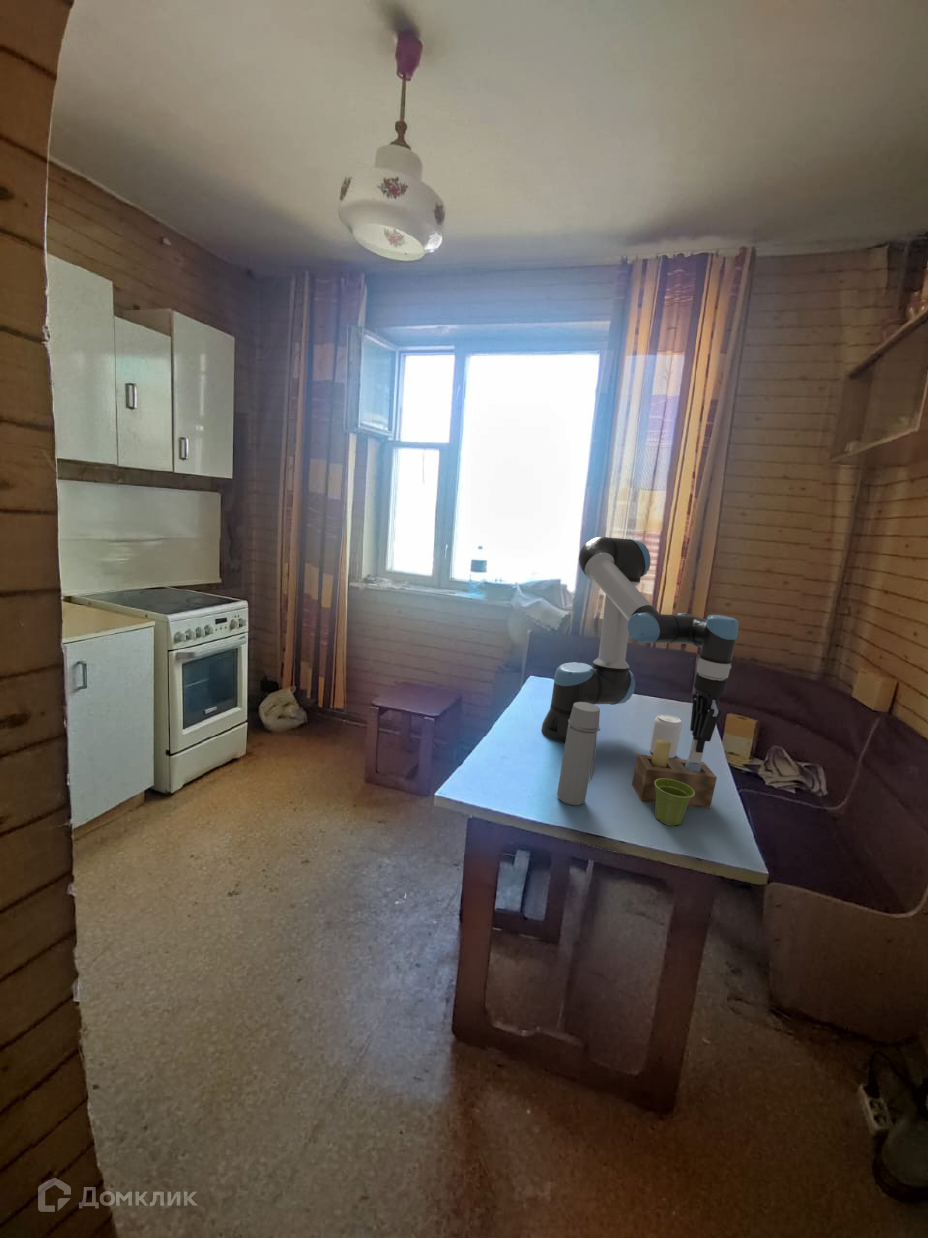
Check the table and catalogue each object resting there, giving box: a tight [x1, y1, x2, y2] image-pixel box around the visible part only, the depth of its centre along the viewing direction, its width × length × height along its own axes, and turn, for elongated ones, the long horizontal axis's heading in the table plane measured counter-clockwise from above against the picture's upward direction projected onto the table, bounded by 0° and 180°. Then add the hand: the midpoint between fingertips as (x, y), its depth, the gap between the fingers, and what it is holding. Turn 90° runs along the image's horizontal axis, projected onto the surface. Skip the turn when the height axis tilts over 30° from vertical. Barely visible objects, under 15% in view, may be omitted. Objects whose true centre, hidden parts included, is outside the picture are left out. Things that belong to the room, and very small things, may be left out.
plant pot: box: [654, 778, 695, 827], centre depth 141 cm, size 9×9×9 cm
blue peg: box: [685, 758, 702, 772], centre depth 152 cm, size 4×4×8 cm
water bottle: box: [556, 702, 601, 806], centre depth 144 cm, size 9×8×25 cm
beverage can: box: [648, 713, 683, 758], centre depth 180 cm, size 8×8×12 cm
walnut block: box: [631, 754, 717, 810], centre depth 152 cm, size 18×9×9 cm, turn 89°
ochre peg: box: [651, 739, 671, 768], centre depth 151 cm, size 4×4×8 cm
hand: (694, 761), depth 151 cm, fingers closed
